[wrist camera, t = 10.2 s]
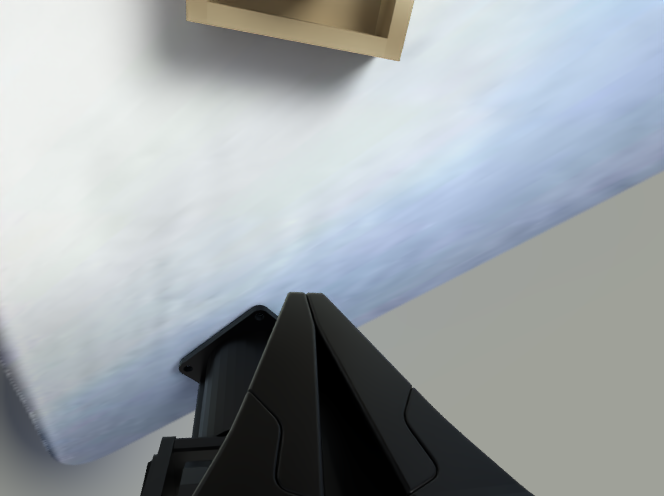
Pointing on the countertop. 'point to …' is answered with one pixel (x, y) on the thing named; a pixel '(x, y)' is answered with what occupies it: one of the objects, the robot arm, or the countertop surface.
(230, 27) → the tan wooden rectangular tray
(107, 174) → the countertop surface
